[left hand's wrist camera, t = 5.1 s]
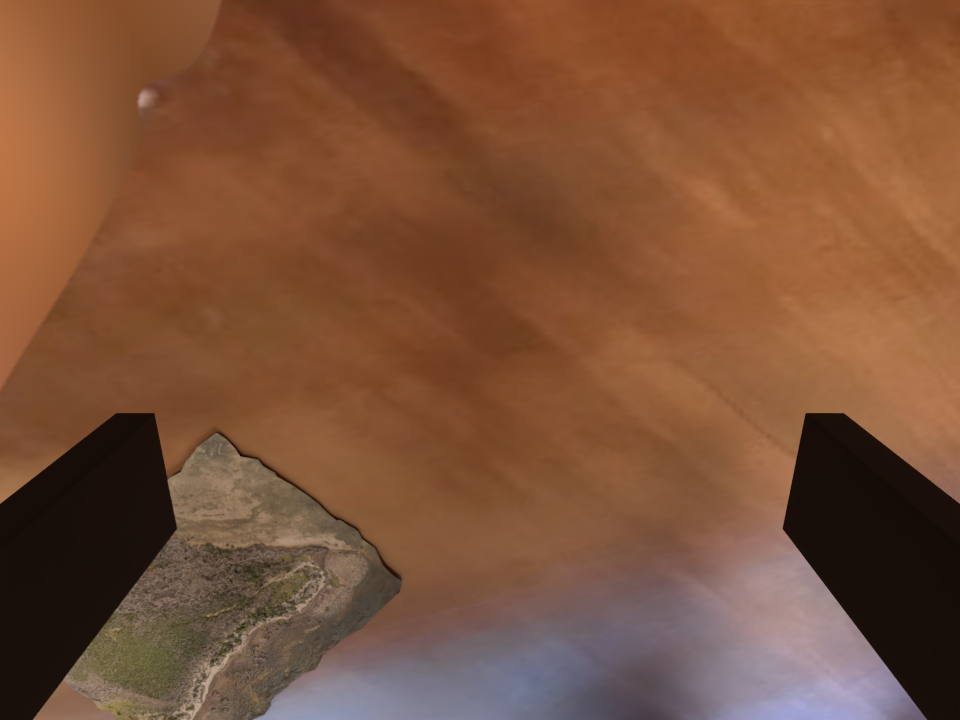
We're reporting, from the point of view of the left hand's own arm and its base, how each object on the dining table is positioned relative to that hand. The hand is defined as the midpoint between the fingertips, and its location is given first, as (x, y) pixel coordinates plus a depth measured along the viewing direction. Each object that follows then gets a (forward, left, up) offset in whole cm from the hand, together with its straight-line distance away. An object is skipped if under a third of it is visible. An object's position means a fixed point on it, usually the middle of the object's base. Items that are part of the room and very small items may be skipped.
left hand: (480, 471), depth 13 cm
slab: (-29, +21, -28) cm, 46 cm away
